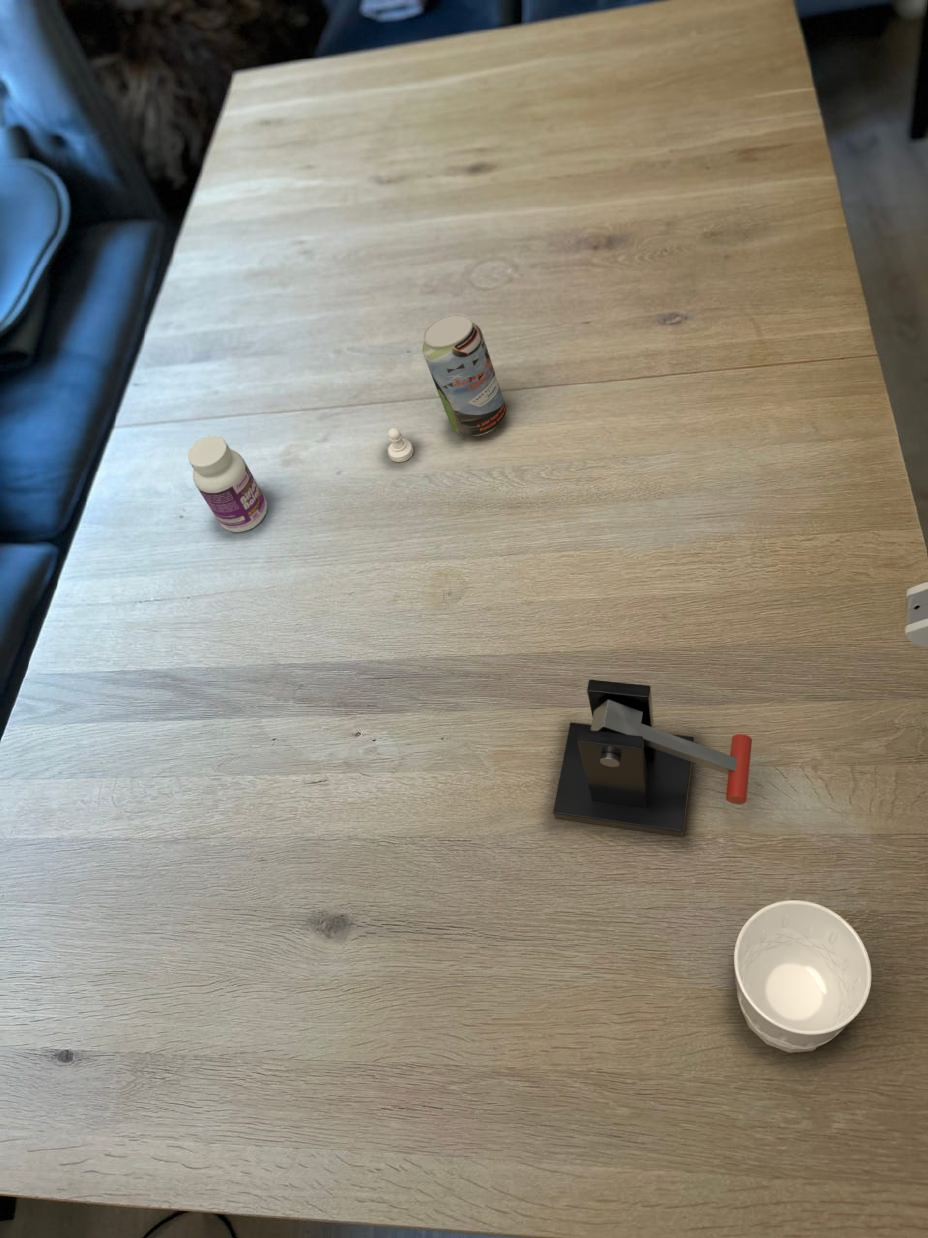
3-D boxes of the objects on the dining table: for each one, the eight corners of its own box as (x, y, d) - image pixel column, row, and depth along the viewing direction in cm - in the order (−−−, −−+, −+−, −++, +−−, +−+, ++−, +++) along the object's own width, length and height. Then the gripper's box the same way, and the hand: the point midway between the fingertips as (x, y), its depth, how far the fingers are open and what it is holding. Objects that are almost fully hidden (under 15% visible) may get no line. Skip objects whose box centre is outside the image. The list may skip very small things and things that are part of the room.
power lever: (741, 746, 75) (759, 736, 73) (735, 808, 72) (754, 799, 70) (596, 693, 73) (610, 681, 71) (585, 755, 70) (600, 744, 68)
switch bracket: (694, 743, 80) (693, 670, 70) (682, 837, 76) (680, 775, 66) (571, 728, 83) (554, 657, 73) (554, 818, 79) (533, 756, 69)
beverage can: (482, 453, 101) (458, 365, 91) (431, 425, 105) (403, 337, 95) (522, 414, 103) (502, 324, 93) (470, 388, 107) (446, 298, 97)
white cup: (852, 1071, 65) (874, 1044, 57) (728, 1053, 67) (732, 1024, 59) (848, 950, 69) (869, 907, 61) (731, 936, 71) (736, 893, 63)
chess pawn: (410, 462, 102) (402, 439, 100) (387, 462, 103) (378, 439, 100) (416, 444, 104) (407, 420, 101) (392, 443, 104) (384, 420, 101)
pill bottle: (267, 529, 101) (231, 466, 93) (218, 538, 102) (178, 476, 94) (270, 489, 104) (234, 425, 96) (222, 498, 105) (183, 435, 97)
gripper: (1138, 319, 47) (884, 445, 58) (1178, 698, 37) (863, 763, 48) (1208, 392, 49) (951, 499, 60) (1263, 766, 40) (944, 813, 50)
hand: (912, 619), depth 54 cm, fingers closed
